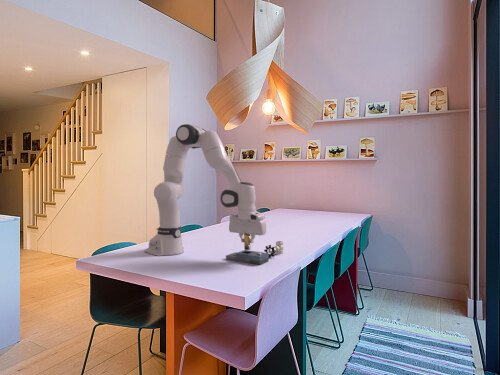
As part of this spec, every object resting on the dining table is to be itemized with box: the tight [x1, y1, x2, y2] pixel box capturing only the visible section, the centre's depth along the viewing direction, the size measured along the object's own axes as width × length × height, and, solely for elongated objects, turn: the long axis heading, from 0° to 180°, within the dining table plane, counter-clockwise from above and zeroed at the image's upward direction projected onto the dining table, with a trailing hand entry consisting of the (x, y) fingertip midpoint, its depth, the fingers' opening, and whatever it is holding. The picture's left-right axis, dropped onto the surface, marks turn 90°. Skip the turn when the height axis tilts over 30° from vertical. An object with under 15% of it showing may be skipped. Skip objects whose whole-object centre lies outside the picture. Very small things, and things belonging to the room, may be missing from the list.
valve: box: [264, 240, 284, 259], centre depth 178 cm, size 7×7×12 cm
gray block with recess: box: [225, 249, 269, 266], centre depth 168 cm, size 20×8×5 cm, turn 57°
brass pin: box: [243, 232, 251, 251], centre depth 168 cm, size 4×4×9 cm
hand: (247, 242), depth 168 cm, fingers closed on brass pin, 3 cm apart
